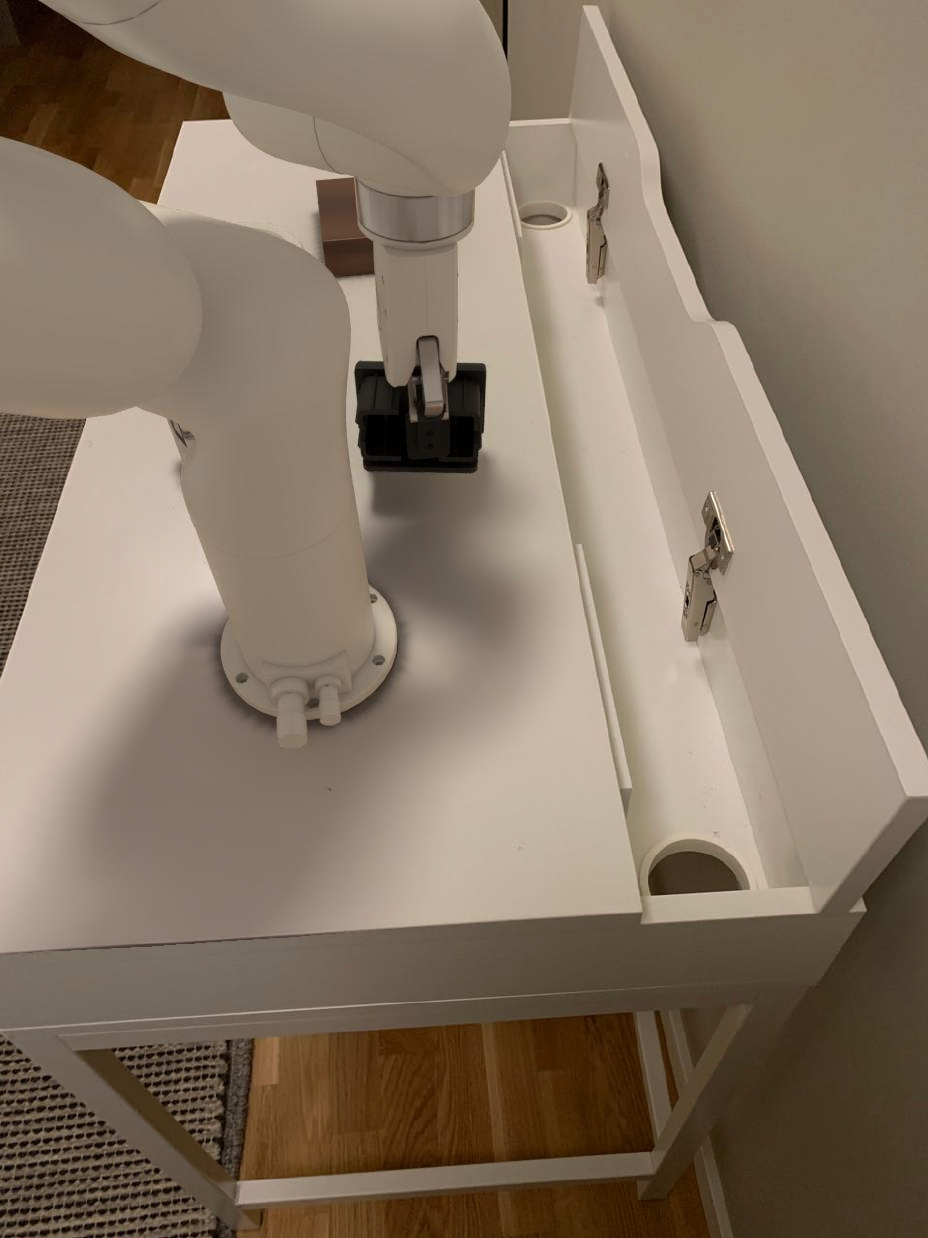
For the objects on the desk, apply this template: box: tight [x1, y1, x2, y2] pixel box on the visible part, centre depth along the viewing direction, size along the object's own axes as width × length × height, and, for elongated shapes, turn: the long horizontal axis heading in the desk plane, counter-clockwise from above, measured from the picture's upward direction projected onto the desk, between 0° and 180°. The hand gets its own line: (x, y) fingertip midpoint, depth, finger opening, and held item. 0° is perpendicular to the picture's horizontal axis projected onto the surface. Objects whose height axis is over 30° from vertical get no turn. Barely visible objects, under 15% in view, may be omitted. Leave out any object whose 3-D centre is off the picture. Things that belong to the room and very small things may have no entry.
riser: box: [315, 176, 375, 277], centre depth 93 cm, size 12×12×4 cm
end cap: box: [353, 360, 487, 474], centre depth 68 cm, size 10×7×7 cm
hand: (421, 419), depth 69 cm, fingers closed on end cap, 7 cm apart
